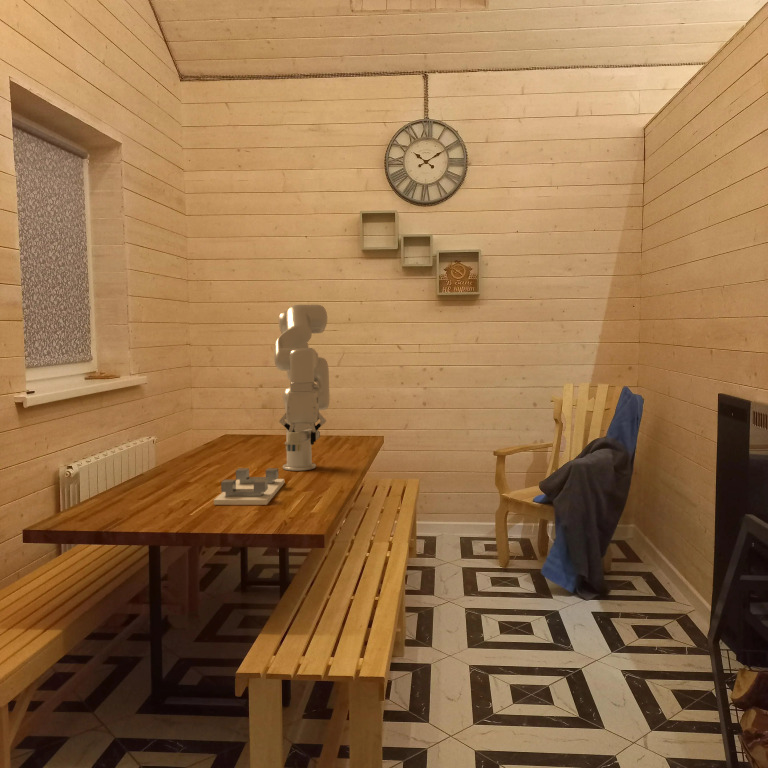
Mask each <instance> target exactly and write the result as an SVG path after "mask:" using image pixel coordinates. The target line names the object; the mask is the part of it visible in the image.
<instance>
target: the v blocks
mask: <svg viewBox="0 0 768 768" xmlns="http://www.w3.org/2000/svg"><path fill="white" fill-rule="evenodd" d="M276 479H279V467H278V468H277V467H276V468H271V467H268V468H267V469H265V476H250V468H247V467H246V468H245V467H243V468H242V467H241V468H240V467H239V468H238V469H236V470H235V479H224V480H222V481H221V482H220V487H221V493H222V492H225V493H226V497H261V496H262V495H263V494H264V492H265V491H266V490H267V489H268V484H273V483H274V482H275V480H276ZM236 480H240V484H254V489H236Z"/></svg>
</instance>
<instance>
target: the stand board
mask: <svg viewBox="0 0 768 768" xmlns="http://www.w3.org/2000/svg"><path fill="white" fill-rule="evenodd" d="M235 480H236V479H235ZM283 485H285V478H277V479H276V480H275V482H274V483H273V484H268V489H267V490H266V491H265V492H264V494H263V495H262V496H261V497H226V493H225V492H221V493H220V494H219V495H218V496H216V497H215V498H214V499H213V505H214V506H218V505H220V506H221V505H222V506H225V505H226V506H229V505H230V506H231V505H232V506H235V505H237V506H244V505H245V506H248V505H249V506H250V505H251V506H255V505H257V506H258V505H259V506H262V505H263V506H264V505H265V506H267V505H268V504H269V503H270V501H271V500H272V499H273V498H274V497H275V495H277V493H278V492H279V491H280V489H281V488H283ZM236 489H254V484H240V480H236Z"/></svg>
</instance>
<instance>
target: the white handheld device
mask: <svg viewBox="0 0 768 768" xmlns="http://www.w3.org/2000/svg"><path fill="white" fill-rule="evenodd" d="M311 430H312V429H311V428H309V429H308V430H304V431H300V432H289V433H288V438H287V442H286V441H284V445H285V452H287V451H301V446H302V444H303V442H302V441H311ZM320 437H321V432H320V430H319V429H318V430H317V431H316V441H317V440H319V439H320Z"/></svg>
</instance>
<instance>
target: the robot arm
mask: <svg viewBox="0 0 768 768" xmlns="http://www.w3.org/2000/svg"><path fill="white" fill-rule="evenodd" d="M327 324H328V313H327V310H326V308H325V307H324V306H323V305H321V304H295V305H291V306H290V307H289V308H288V309H287V311H283V312H280V314H279V315H278V327H279V330H280V333H281V334H280V335H279V337H277V339H276V341H275V342H274V343H275V344H274V352H273V353H274V356H273V358H274V360H273V361H274V365H275V367H276V369H277V370H279V371H284V372H286V376H287V379H288V380H289V382H290V386H288V387H286V388H285V389H284V390H283V395H282V398H283V405H284V412H285V413H284V415H282V417H281V418H280V419H279V420H278V422H279V424H281V425H282V426H284V428H285V431H286V432H285V433H286V437H285V438H286V441H285V442H287V438H288V433H289V432H300V431H304V430H308V429H309V428H311V429H312V430H311V441H302V442H303V444H302V446H301V451H286V463H284V464H283V465H282V469H283V470H285V471H290V472H291V471H292V472H293V471H294V472H296V471H297V472H301V471H310V470H313V469H315V468H316V467H317V465H316V463H315V462H313V461H312V460H313V459H312V456H313V455H312V446H313V445H314V444H315V442H317V440H316V431H317V430H318V431H319V429H320V428H321V427H322V426H323V425H324V424H325V423H327V420H326V418H325V417H324V415H322V414H321V413H320V411H324V410H327V409H328V408H329V406H330V372H329V371H330V370H329V364H328V361H327V360H326V359H325V358H324V357H321V356H319V354H318V352H317V351H316V350H315V348H312V347H309V343H308V342H310V340H311V338H312V336H313V335H312V334H321V333H324V332H325V329H326V328H327ZM318 421H319V422H318ZM317 422H318V423H317ZM316 423H317V424H316Z"/></svg>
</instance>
